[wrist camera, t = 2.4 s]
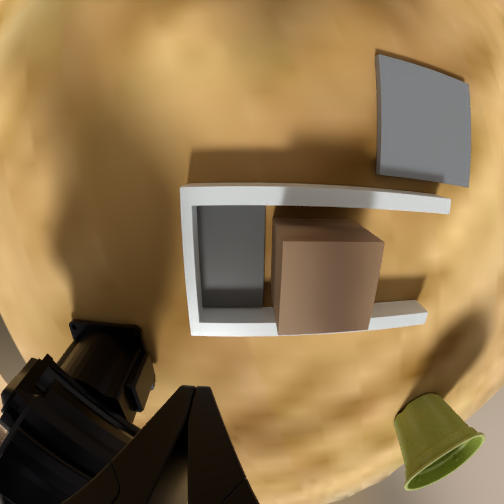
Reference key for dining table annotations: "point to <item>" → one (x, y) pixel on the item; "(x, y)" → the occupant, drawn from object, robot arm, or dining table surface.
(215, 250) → the channel
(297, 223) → the walnut block
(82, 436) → the robot arm
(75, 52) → the dining table surface
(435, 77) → the slate coaster
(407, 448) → the plant pot
